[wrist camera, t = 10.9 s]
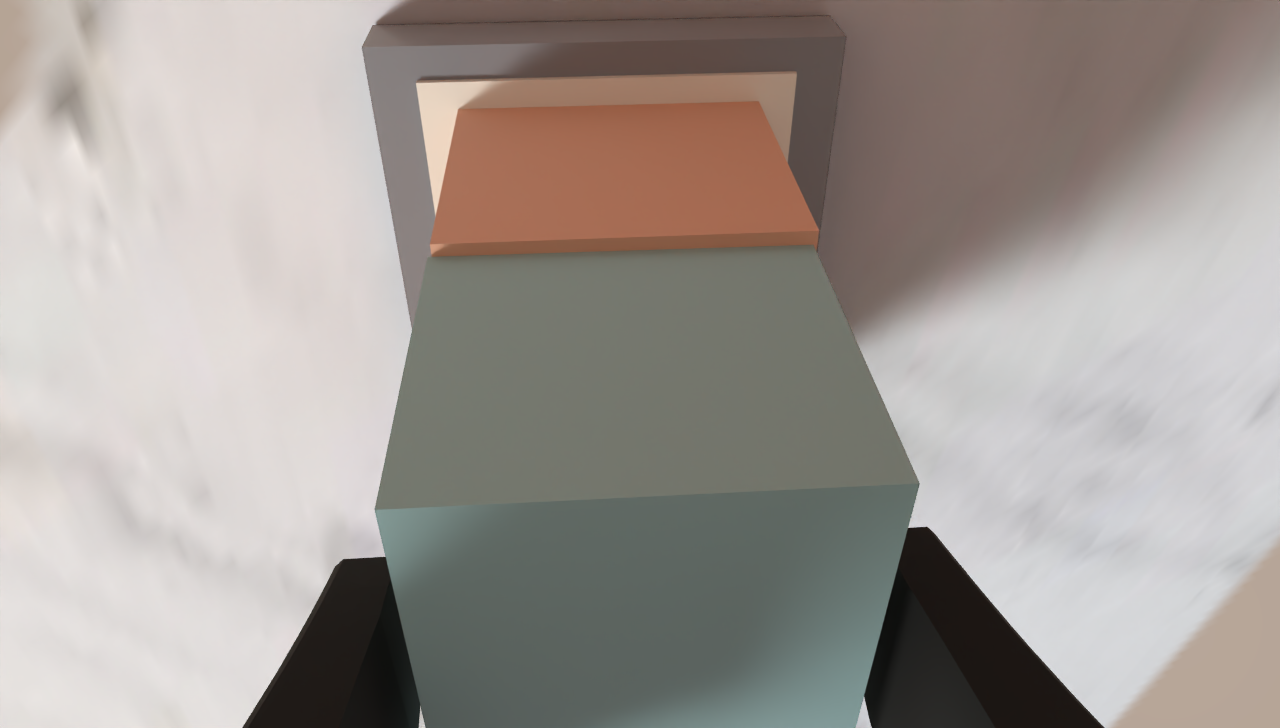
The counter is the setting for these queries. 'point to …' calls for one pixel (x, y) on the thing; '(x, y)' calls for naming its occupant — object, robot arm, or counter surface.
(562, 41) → the baseplate
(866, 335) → the counter surface
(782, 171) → the terracotta brick
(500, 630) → the teal brick
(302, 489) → the counter surface
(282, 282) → the counter surface
